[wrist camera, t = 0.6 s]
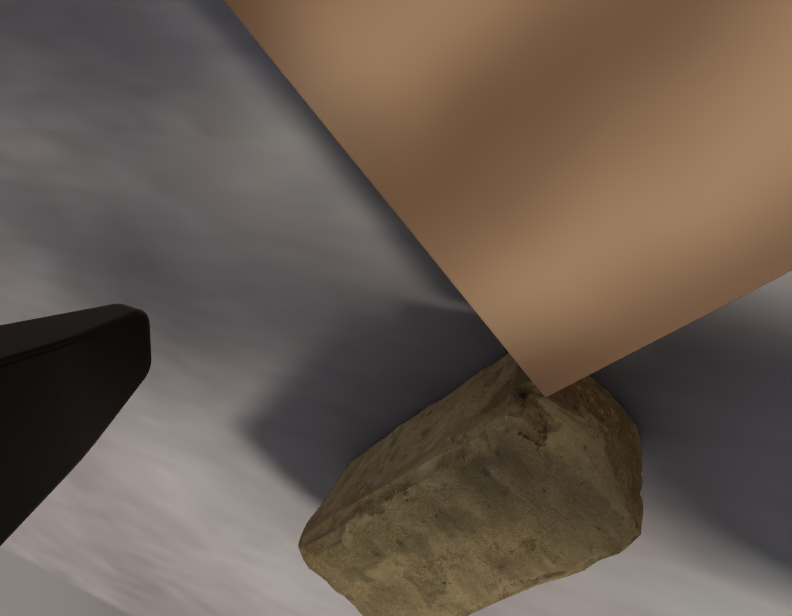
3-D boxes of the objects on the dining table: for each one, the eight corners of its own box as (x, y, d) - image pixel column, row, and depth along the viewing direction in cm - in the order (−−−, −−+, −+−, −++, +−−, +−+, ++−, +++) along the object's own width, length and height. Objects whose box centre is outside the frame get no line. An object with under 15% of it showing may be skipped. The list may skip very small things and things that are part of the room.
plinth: (1042, 56, 15) (1158, 81, 12) (560, 330, 22) (545, 397, 18) (719, -489, 13) (746, -648, 10) (294, -7, 20) (222, -1, 16)
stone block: (332, 465, 28) (277, 555, 24) (548, 309, 22) (527, 391, 18) (429, 561, 28) (392, 665, 24) (664, 434, 23) (671, 542, 18)
